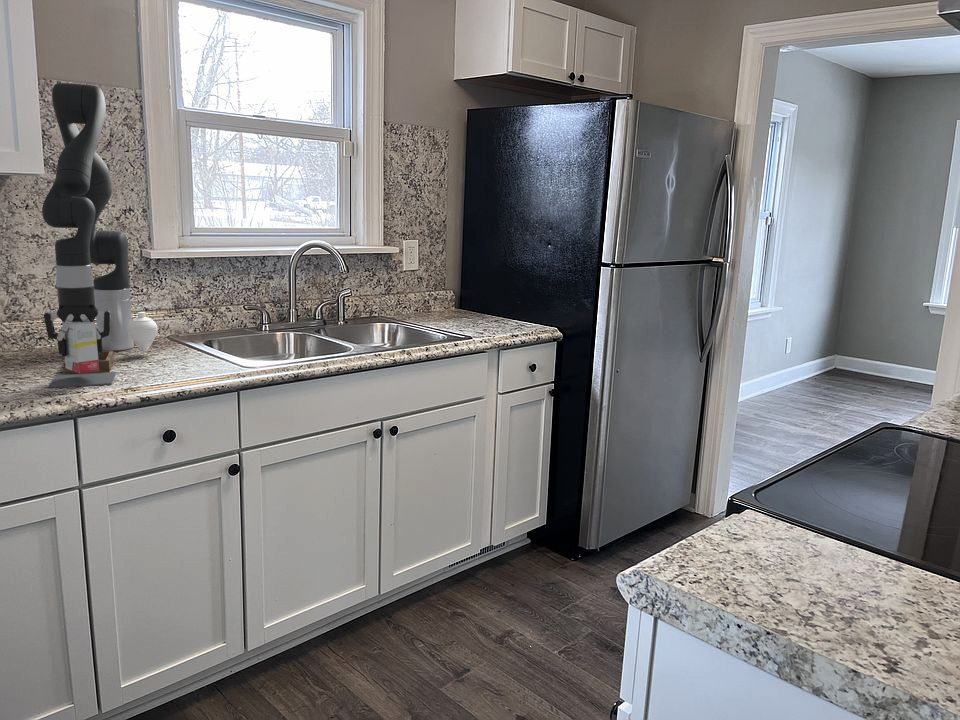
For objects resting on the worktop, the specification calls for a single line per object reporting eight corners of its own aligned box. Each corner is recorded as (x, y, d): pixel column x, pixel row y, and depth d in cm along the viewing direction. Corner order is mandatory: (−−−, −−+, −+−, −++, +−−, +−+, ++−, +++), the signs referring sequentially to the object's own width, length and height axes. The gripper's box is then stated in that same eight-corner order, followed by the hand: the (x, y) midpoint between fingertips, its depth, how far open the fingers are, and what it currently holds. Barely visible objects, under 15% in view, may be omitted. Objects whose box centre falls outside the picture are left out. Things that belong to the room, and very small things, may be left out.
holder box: (71, 363, 196) (70, 352, 195) (114, 361, 199) (113, 350, 199) (64, 374, 184) (63, 362, 183) (109, 372, 187) (108, 360, 187)
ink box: (100, 371, 177) (96, 321, 175) (78, 374, 174) (73, 324, 171) (87, 365, 183) (82, 317, 181) (65, 368, 180) (60, 319, 177)
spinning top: (142, 351, 213) (139, 309, 211) (165, 353, 211) (162, 311, 209) (122, 356, 206) (119, 313, 203) (146, 358, 204) (143, 314, 201)
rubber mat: (56, 376, 182) (56, 374, 182) (115, 373, 187) (115, 371, 186) (48, 388, 171) (47, 386, 171) (111, 384, 176) (111, 383, 176)
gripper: (111, 282, 180) (116, 350, 184) (42, 283, 175) (49, 353, 178) (108, 286, 173) (113, 356, 177) (37, 286, 168) (43, 359, 172)
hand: (81, 354), depth 178 cm, fingers closed on ink box, 6 cm apart
